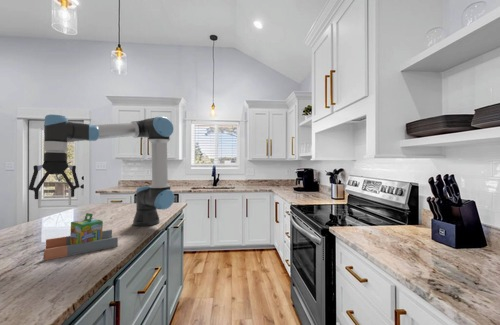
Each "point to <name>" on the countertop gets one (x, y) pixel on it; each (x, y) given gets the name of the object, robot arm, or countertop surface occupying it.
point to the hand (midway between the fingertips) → (55, 205)
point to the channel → (77, 246)
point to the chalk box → (86, 230)
